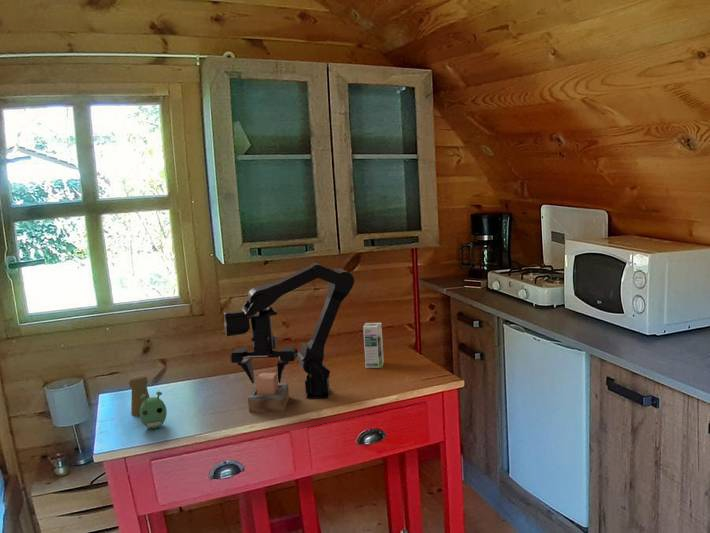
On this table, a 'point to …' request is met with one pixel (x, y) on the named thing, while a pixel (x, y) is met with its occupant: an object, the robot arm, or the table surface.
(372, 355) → the syrup box
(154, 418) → the alien toy
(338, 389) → the table surface
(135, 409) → the cork
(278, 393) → the grey square frame
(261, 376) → the top brick
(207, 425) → the table surface
